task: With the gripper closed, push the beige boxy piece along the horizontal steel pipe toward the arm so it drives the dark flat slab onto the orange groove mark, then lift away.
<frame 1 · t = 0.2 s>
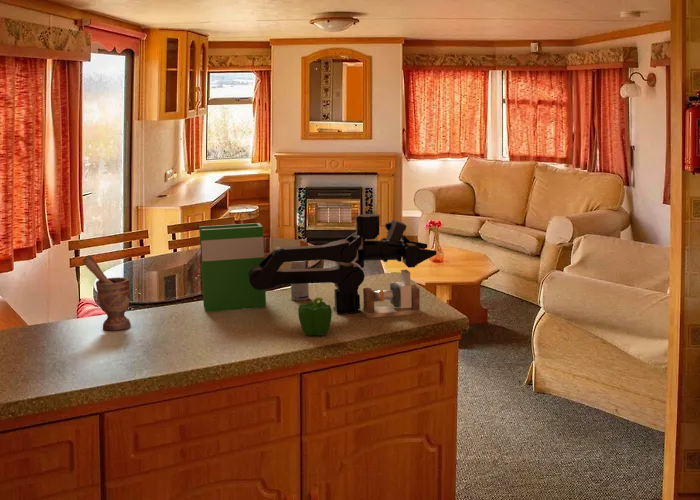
hand: (431, 249, 222), 17 cm above the table, tool horizontal, fingers open, 9 cm apart
bell pepper: (315, 334, 199), on the table
pipe stand: (391, 312, 218), on the table
energy drink: (300, 299, 236), on the table
mortar and pestle: (110, 328, 209), on the table
hardback book: (234, 307, 229), on the table
beige boxy piece: (403, 288, 218), point 7 cm above the table, slide at 0.0 cm
dark flat slab: (394, 295, 218), point 5 cm above the table, slide at 0.0 cm
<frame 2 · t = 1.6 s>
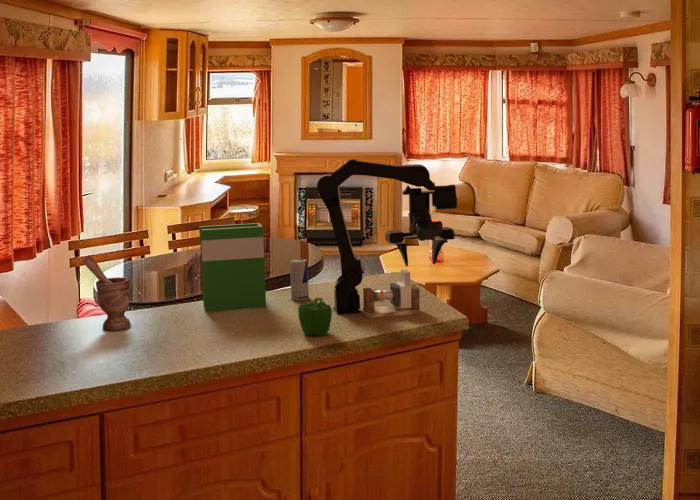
hand: (420, 265, 218), 13 cm above the table, tool pointing down, fingers open, 8 cm apart
nothing on the table moved.
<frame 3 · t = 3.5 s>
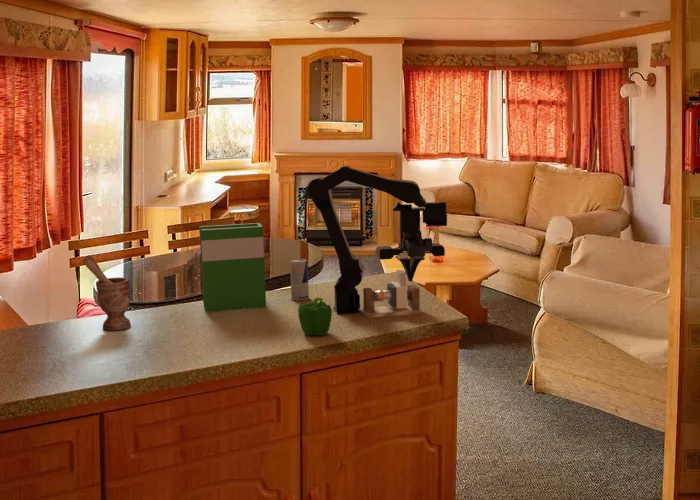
hand: (410, 281, 218), 9 cm above the table, tool pointing down, fingers closed
beige boxy piece: (399, 288, 217), point 7 cm above the table, slide at 1.3 cm, touching gripper, dark flat slab
dark flat slab: (391, 295, 217), point 5 cm above the table, slide at 0.9 cm, touching beige boxy piece
everything else where it was.
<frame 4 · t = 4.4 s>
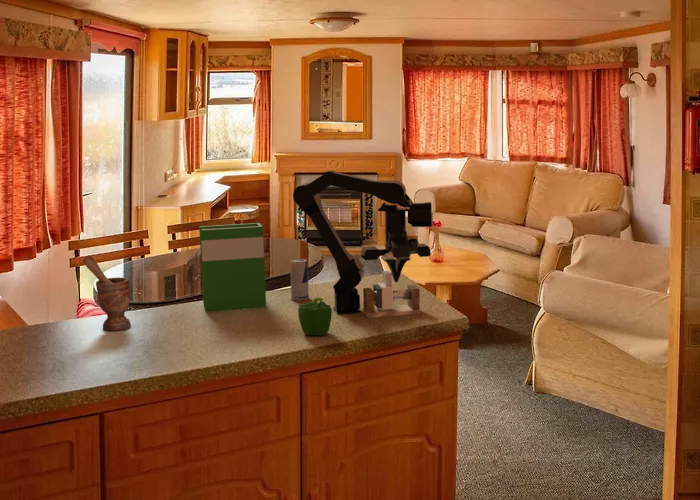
hand: (396, 281, 217), 9 cm above the table, tool pointing down, fingers closed
beige boxy piece: (384, 289, 217), point 7 cm above the table, slide at 5.4 cm, touching gripper, dark flat slab
dark flat slab: (377, 296, 217), point 5 cm above the table, slide at 5.0 cm, touching beige boxy piece
everything else where it was.
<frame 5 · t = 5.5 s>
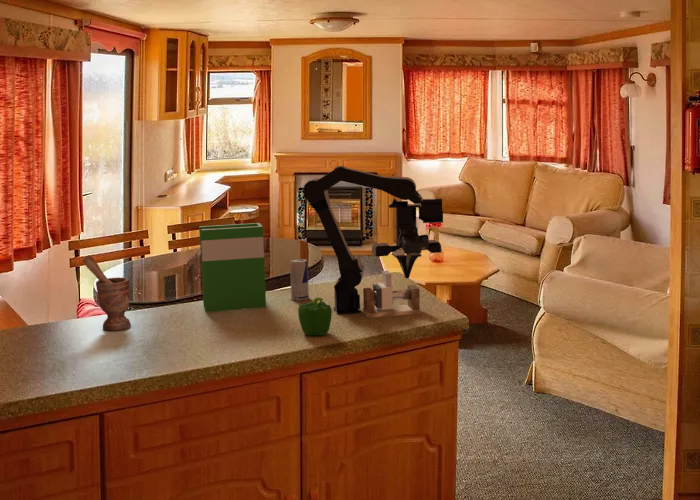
hand: (406, 278, 217), 10 cm above the table, tool pointing down, fingers closed
beige boxy piece: (384, 289, 217), point 7 cm above the table, slide at 5.4 cm, touching dark flat slab
everything else where it was.
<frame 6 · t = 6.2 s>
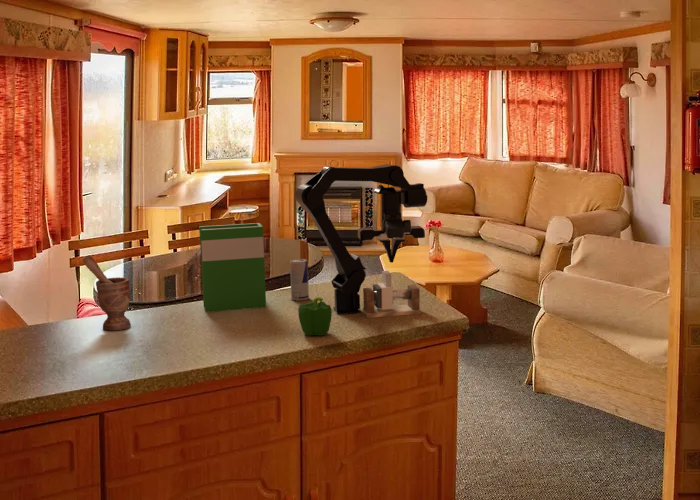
hand: (391, 262, 224), 13 cm above the table, tool pointing down, fingers closed
nothing on the table moved.
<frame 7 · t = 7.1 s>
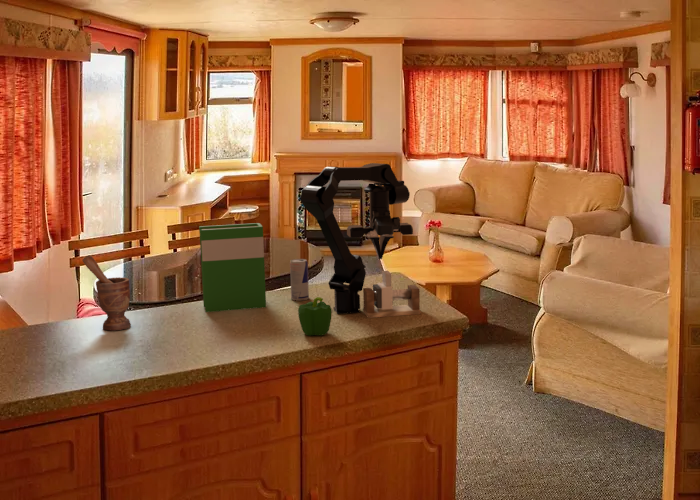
hand: (380, 258, 228), 13 cm above the table, tool pointing down, fingers closed
nothing on the table moved.
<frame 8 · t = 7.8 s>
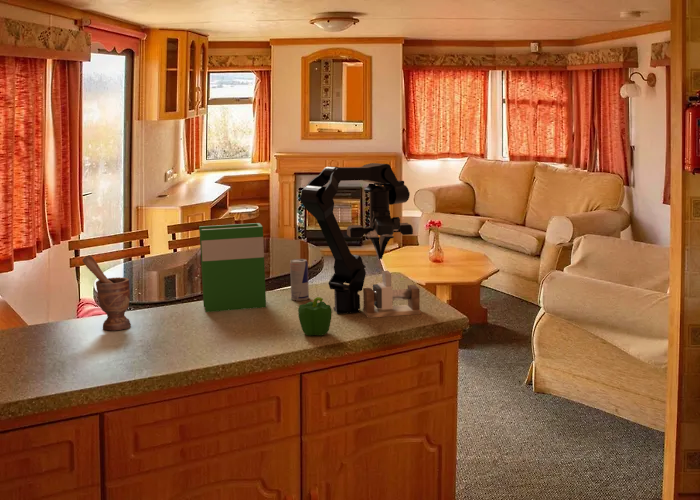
hand: (380, 258, 228), 13 cm above the table, tool pointing down, fingers closed
nothing on the table moved.
at the end: dark flat slab slide at 5.0 cm; beige boxy piece slide at 5.4 cm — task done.
